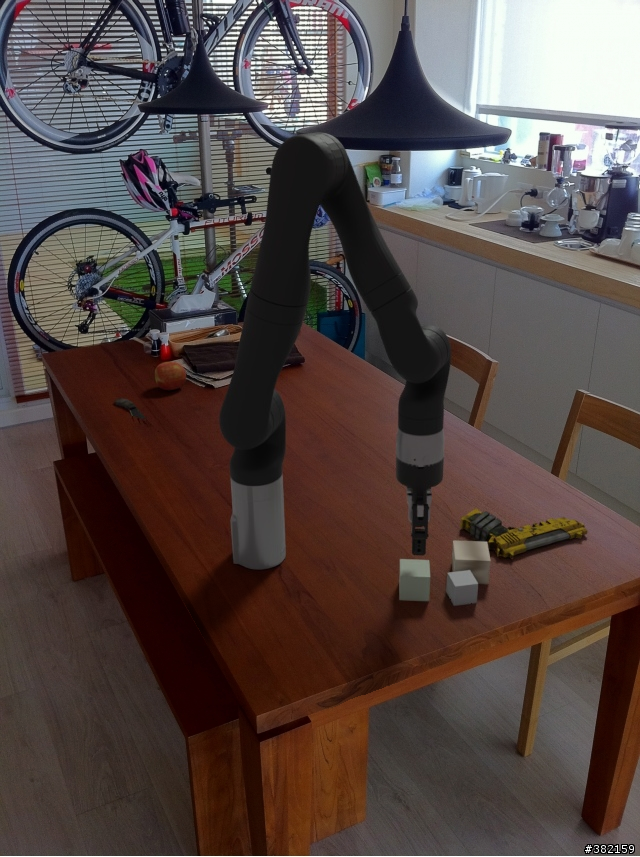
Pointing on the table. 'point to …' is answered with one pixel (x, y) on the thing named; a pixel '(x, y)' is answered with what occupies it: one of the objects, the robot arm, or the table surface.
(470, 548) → the maple block
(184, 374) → the apple
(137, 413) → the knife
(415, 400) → the robot arm
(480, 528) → the toy gun
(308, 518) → the table surface
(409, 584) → the green cube
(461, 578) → the grey block
